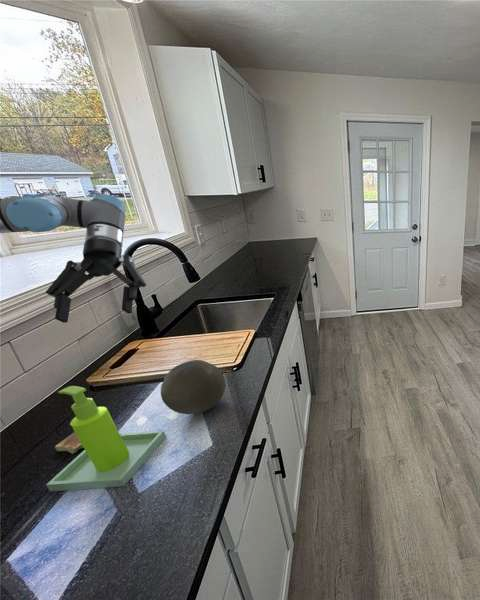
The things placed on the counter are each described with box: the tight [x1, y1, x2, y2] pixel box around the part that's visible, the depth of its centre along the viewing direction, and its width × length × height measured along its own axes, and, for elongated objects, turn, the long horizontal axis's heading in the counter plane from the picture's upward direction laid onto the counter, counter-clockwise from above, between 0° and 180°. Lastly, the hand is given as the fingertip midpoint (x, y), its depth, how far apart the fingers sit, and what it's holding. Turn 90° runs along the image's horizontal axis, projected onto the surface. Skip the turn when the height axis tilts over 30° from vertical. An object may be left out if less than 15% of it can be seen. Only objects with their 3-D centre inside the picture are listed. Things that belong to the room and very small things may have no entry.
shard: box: [54, 431, 84, 455], centre depth 80 cm, size 11×8×2 cm
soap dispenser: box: [57, 385, 129, 472], centre depth 69 cm, size 6×7×20 cm
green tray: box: [45, 430, 167, 492], centre depth 72 cm, size 16×14×2 cm
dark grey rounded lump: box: [160, 359, 227, 415], centre depth 85 cm, size 14×14×15 cm
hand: (94, 316), depth 78 cm, fingers open, 13 cm apart
